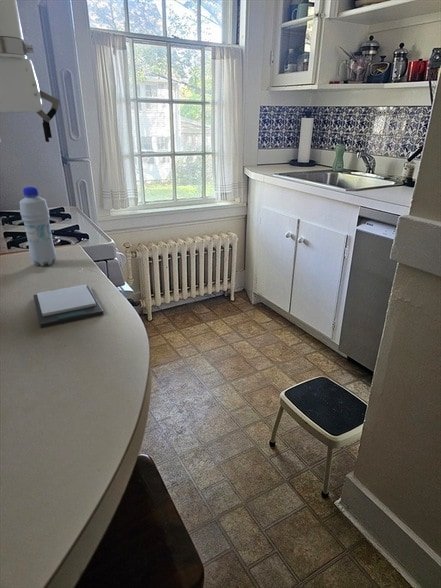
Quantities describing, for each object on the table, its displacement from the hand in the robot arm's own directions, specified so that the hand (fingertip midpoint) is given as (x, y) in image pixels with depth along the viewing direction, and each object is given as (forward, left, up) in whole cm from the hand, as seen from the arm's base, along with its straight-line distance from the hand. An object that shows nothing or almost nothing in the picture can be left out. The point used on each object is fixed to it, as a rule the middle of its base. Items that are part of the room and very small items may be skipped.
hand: (23, 142), depth 85 cm
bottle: (-4, +7, -31) cm, 32 cm away
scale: (+11, -23, -31) cm, 40 cm away
